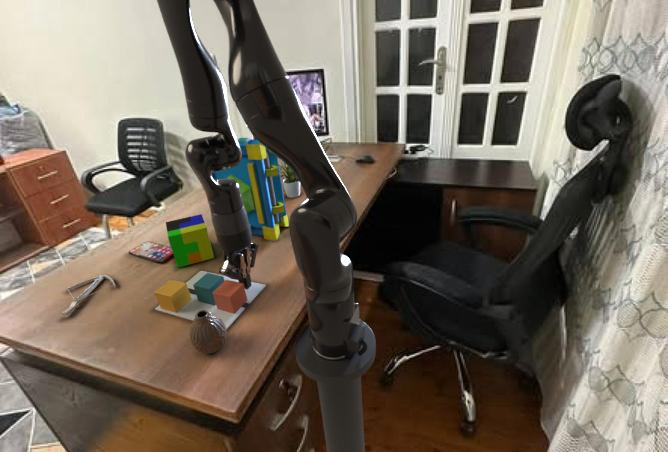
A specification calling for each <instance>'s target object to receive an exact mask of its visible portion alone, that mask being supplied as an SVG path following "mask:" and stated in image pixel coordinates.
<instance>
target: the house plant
mask: <svg viewBox="0 0 668 452" xmlns="http://www.w3.org/2000/svg"><path fill="white" fill-rule="evenodd" d="M278 163H279V167H280V168H281V169H280V176H281V178H283V179H282V180H281V182H282V186H283V188H284V192H285V194H286V196H287V198H291V199H293V198H297V197H300V195H301V184H300V182H299V180H298V178H297V177H296V175H295V174H294V172H293V171H292V170H291V168H290V167H289V166H288V165H287V164H286V163H284V162H283V164H282V163H281V162H280V161H279V160H278ZM283 165H284V166H283Z"/></svg>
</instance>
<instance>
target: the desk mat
mask: <svg viewBox="0 0 668 452" xmlns="http://www.w3.org/2000/svg"><path fill="white" fill-rule="evenodd" d="M207 273H210V274H215V275H219V276H223V277H224V280H230V281H235V282H239V281H238V280H235V279H231V278H229V277H227V276H225V275H223V274H220V273H214V272H210V271H205V270H200V271H198V272H197V273H196V274H195V275H194V276H192V277H191V278H190V279H189V280H188V281H186V282H185V283H186V284H187V287H188V290H189V293H190V296H191V298H192V300H191V301H190V302H189V303H188V304H186V305H185V306H184V307H183V308H182V309H181V310H180V311H179V312H178V313H174V312H171V311H167V310H164V309H161V307H160V305H159V304H158V305H157V306H156V307H155V308H154V310H155V311H157V312H158V311H159V312H161V313H165V314H169V315H171V316H175V317H178V318H182V319H185V320H188V321H192V322H193V320H194V319H195V315H196V313H197V312H199V311H201V310H207V311H208V312H209V313H212V314H215V315H217V316H218V317H220V318H221V319H222V321H223V322H224V324H225V327H226V331H227V330H229V328H230V327H231V326H232V324H233V323H234V322H235V321H236V320H237V319H238V318H239V317H240V316H241V315H242V314H243V312H244V311H245V310H246V309H247V308H248V306H249V305H251V304H252V302H253V301H254V300H255V299H256V298H257V297H258V295H260V293H261V292H262V291H263V290H264V289H265V287H266V286H267V285H266V284H264V283H259V282H255V281H251V287H250V288H249V289H248V290H247V289H245V292H246V296H247V301H246V302H245V303H244V305H243V306H242V307H241V308H240V309H239V310H238V311H237V312H236V313H235V314H233V313H229V312H226V311H222V310H219V309H217V306H216V305H211V304H207V303H203V302H200V301H198V298H197V295H196V292H195V289H194V286H193V285H194V284H195V283H196V282H197V281H198V280H199V279H201V278H202V277H203V276H204V275H205V274H207Z"/></svg>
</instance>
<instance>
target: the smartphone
mask: <svg viewBox="0 0 668 452" xmlns="http://www.w3.org/2000/svg"><path fill="white" fill-rule="evenodd" d="M128 254H129V255H131V256H133V257H137V258H141V259H143V260H147V261H149V262H154V263H157V264H163V263H165V262H166V261H168V260H170V259H171V258H172V257H174V255H173V251H172V248H171V246H167V245H164V244H160V243H156V242H152V241H144V242H143V243H141V244H139V245H137V246H135V247H133V248H132V249H130V250H129V251H128Z"/></svg>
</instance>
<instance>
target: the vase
mask: <svg viewBox="0 0 668 452" xmlns="http://www.w3.org/2000/svg"><path fill="white" fill-rule="evenodd" d="M227 333H228V332H227V330H226V327H225V324H224V322H223V321H222V319H221V318H220V317H218V316H217V315H215V314H212V313H209V312H208V311H207V310H201V311H199V312H197V313H196V315H195V319H194V320H193V321H192V322H191V324H190V326H189V341H190V343H191V345H192V347H193V348H194V349H195V350H196V351H197V352H199V353H201V354H204V355H205V354H206V355H207V354H208V355H209V354H214V353H216V352H218V351H219V350H220V349H221V348H222V347H223V346H224V345H225V343H226V340H227Z"/></svg>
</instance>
